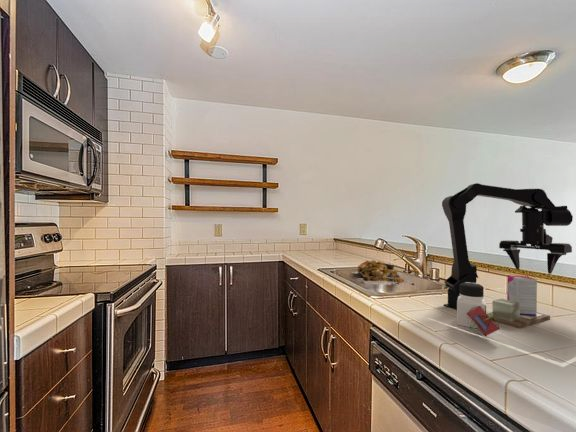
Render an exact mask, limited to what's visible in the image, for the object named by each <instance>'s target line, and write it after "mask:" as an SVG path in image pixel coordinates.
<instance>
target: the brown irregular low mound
mask: <svg viewBox="0 0 576 432" xmlns="http://www.w3.org/2000/svg"><path fill="white" fill-rule="evenodd" d="M394 267H395V264H391V263H385V262H384V261H381V260H378V261H376V260H374V259H373V260H365V261H363V262H362V263H360V264H359V265H358V266H357V269H356V270H357V271H355V272H353V271H352V274H358V275H360V277H361V278H362V279H361V280H360V281H359V284H364V285H384V286H387V285H389V286H390V285H393V286H394V285H400V284H402V283H404V282H405V280H404V279H403V278H402V276H400V275H398V271H396V270H394ZM411 285H412V286H415V283H414V282H413V283H412V282H411Z"/></svg>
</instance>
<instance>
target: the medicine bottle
mask: <svg viewBox="0 0 576 432" xmlns="http://www.w3.org/2000/svg"><path fill="white" fill-rule="evenodd" d="M475 306H481V307H482V308H483V310H484V311H485V313H486V314H487V302H486V299H485V298H484V287H483V285H481V284H479V283H477V282H476V283H470V282H465V283H461V284H460V296H458V300H457V309H456V325H457V326H460V327H467V328H469V327H470V326H471V327H472V326H473V325H475V324H474V322H473V321H472V319H471V318H470V317H469V316H468V315H467V314H466V313H467V312H468V311H469V310H470V309H471V308H472V307H475ZM485 308H486V309H485ZM467 317H468V318H467ZM470 319H471V320H470ZM468 322H469V323H468ZM471 322H473V323H472V324H471ZM471 327H470V328H471ZM476 327H477V325H476ZM476 327H475V326H474V327H472V328H471V329H477V328H478V327H477V328H476ZM478 329H479V328H478ZM478 329H477V330H478ZM479 330H480V329H479Z"/></svg>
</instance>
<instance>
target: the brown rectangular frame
mask: <svg viewBox="0 0 576 432" xmlns="http://www.w3.org/2000/svg"><path fill="white" fill-rule="evenodd" d="M488 313H489V314H490V315H493V314H495V313H496V314H495V315H494V316H495V317H494V316H493V318H492V319H491V320H492V321H493V322H496V323H500V324H504V325H508V326H511V327H514V328H517V329H522V328H525V327H528V326H532V325H535V324H537V323H541V322H544V321H547V320H550V319H551V315H550V314H546V313H541V312H538V311H537V316H526V315H520V302H515V301H511V300H507V298H498V299H494V300H492V312H491V313H490V312H488ZM488 313H486V314H487V315H488V316H490V315H489V314H488ZM493 319H494V320H495V321H494V320H493ZM497 320H498V321H497Z"/></svg>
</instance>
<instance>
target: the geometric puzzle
mask: <svg viewBox="0 0 576 432" xmlns="http://www.w3.org/2000/svg"><path fill="white" fill-rule="evenodd" d="M485 309H486V310H487V307H486V308H485ZM489 313H492V312H491V311H489V312H486V313H485V311H484V310H483V308H482V307H481V306H475V307H472V308H471V309H470V310H469V311H468V312H467V313H466V314H467V315H468V316H469V317H470V318H471V319H472V321H473V322H474V324H475V325H473V326H472V327H474V326H475V327H476V325H477V327H478V328H479V329H478V328H477V327H476V328H472V327H471V326H470V327H468V329H472V331H474V332H477V331H479V333H480V334H482V335H483V336H485V337H487V336H489V335H490V334H491V335H492V334H493V333H494V332H495V333H496V332H497V331H498V330H501V329H500V325H499V323H497V322H496V321H495V320H494V319H493V320H494V321H493V320H491V319H492V318H493V316H494V315H495V314H496V313H495V314H493V315H490V314H489ZM487 314H489V315H490V316H488V315H487ZM494 317H495V316H494ZM467 318H468V317H467ZM471 319H470V320H471ZM497 321H498V320H497ZM473 322H471V324H472V323H473ZM468 323H469V322H468Z"/></svg>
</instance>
